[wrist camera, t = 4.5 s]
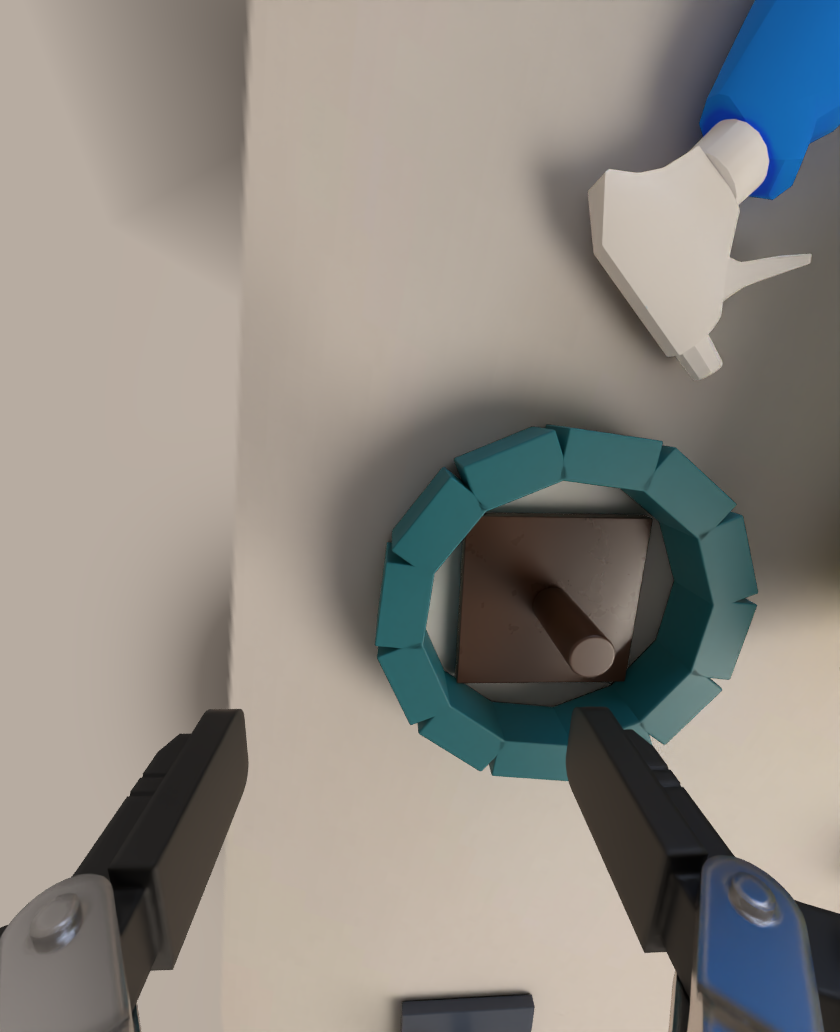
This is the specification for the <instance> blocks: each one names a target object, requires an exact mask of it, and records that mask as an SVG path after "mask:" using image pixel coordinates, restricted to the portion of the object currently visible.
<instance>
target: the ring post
mask: <svg viewBox="0 0 840 1032" xmlns="http://www.w3.org/2000/svg"><path fill="white" fill-rule="evenodd" d="M652 520H653V519H652V518H651V517H648V516H646V515H626V514H556V513H487V512H485V513H484V515H483V516H482V517H481V518H480V520H479V521H478V522H477V523H476V524H475V526H474V527H473V528H472V529H471V530H470V532H469V533H468V534H467V535H466V536H465V538H464V539H463V544H462V562H461V579H460V597H459V615H458V632H457V650H456V668H455V677H456V682H457V683H529V682H624V681H625V677H626V671H627V665H628V659H629V653H630V647H631V642H632V636H633V630H634V624H635V618H636V613H637V607H638V601H639V595H640V589H641V584H642V578H643V572H644V566H645V560H646V555H647V549H648V543H649V537H650V531H651V526H652Z"/></svg>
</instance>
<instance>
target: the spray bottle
mask: <svg viewBox="0 0 840 1032" xmlns="http://www.w3.org/2000/svg"><path fill="white" fill-rule="evenodd" d="M699 125H700V129H701V132H702V135H703V138H702V139H701V140H700V141H699V142H698V143H697V144H696V145H695V146H694V147H693V148H692V149H691V150H690V151H689V152H688V153H686V154H685V155H683V156H682V157H680V158H678V159H677V160H675V161H673V162H672V163H670V164H669V165H667V166H665V167H664V168H660V169H655V170H650V171H646V172H641V173H634V172H627V171H620V170H612V169H608V170H607V171H606V172H605V173H604V174H603V175H602V176H601V178H600V179H599V180H598V181H597V182H596V183H595V184H594V185H593V186H592V187H591V189H590V190H589V191H588V200H589V211H590V221H591V231H592V242H593V252H594V255H595V256H596V258H597V259H598V261H599V262H600V263H601V265H602V266H603V268H604V269H605V270H606V272H607V273H608V275H609V276H610V277H611V279H612V280H613V282H614V283H615V284H616V286H617V287H618V289H619V290H620V291H621V293H622V294H623V296H624V297H625V299H626V300H627V301H628V303H629V304H630V306H631V307H632V308H633V310H634V311H635V313H636V314H637V315H638V317H639V318H640V320H641V321H642V322H643V324H644V325H645V327H646V328H647V329H648V331H649V332H650V334H651V335H652V336H653V338H654V339H655V341H656V342H657V343H658V345H659V346H660V348H661V349H662V350H663V352H664V353H665V355H666V356H667V357H672V356H676V358H677V359H678V360H679V362H680V363H681V365H682V366H683V367H684V369H685V370H686V371H687V373H688V374H689V376H690V377H691V378H692V380H701V379H703V378H705V377H708V376H710V375H712V374H713V373H714V372H716V371H717V370H718V369H719V368H721V367H722V363H723V361H722V360H721V358H720V356H719V354H718V352H717V350H716V348H715V346H714V344H713V342H712V340H711V339H710V337H709V335H708V333H709V332H710V331H711V330H712V329H714V327H715V326H716V324H717V322H718V321H719V319H720V317H721V316H722V306H723V301H725V300H726V299H727V298H729V297H730V296H732V295H733V294H735V293H736V292H738V291H739V290H740V289H742V288H743V287H746V286H748V285H751V284H753V283H755V282H758V281H761V280H764V279H767V278H770V277H773V276H775V275H778V274H781V273H784V272H787V271H790V270H793V269H795V268H798V267H801V266H804V265H807V264H810V263H811V256H812V254H796V255H780V256H774V257H768V258H763V259H757V260H751V261H745V262H739V261H737V260H735V259H733V258H731V257H729V256H730V252H731V247H732V243H733V239H734V234H735V230H736V225H737V221H738V217H739V212H740V208H739V206H738V205H739V204H740V203H742V202H743V201H744V200H745V199H746V198H747V197H748V196H750V197H757V198H763V199H770V200H773V199H775V198H776V197H777V196H779V195H780V194H781V193H783V192H784V191H785V190H787V189H788V188H790V187H791V186H792V185H793V183H794V180H795V178H796V175H797V173H798V170H799V168H800V166H801V163H802V161H803V158H804V156H805V153H806V151H807V148H808V146H809V144H810V143H812V142H814V141H816V140H818V139H819V138H821V137H823V136H825V135H827V134H829V133H831V132H833V131H834V130H835V129H836V128H837V127H838V126H839V125H840V0H755V1H754V3H753V5H752V7H751V9H750V11H749V13H748V15H747V17H746V19H745V21H744V23H743V25H742V27H741V29H740V31H739V33H738V35H737V37H736V39H735V41H734V43H733V46H732V48H731V50H730V52H729V54H728V56H727V58H726V60H725V62H724V64H723V66H722V68H721V71H720V73H719V75H718V77H717V79H716V81H715V83H714V85H713V87H712V89H711V91H710V93H709V96H708V98H707V100H706V103H705V106H704V110H703V113H702V116H701V119H700V122H699Z"/></svg>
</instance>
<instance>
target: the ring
mask: <svg viewBox="0 0 840 1032" xmlns="http://www.w3.org/2000/svg"><path fill="white" fill-rule="evenodd" d="M662 444H663V441H659V440H652V439H646V438H639V437H632V436H625V435H619V434H612V433H605V432H598V431H591V430H585V429H578V428H571V427H564V426H556V425H549V424H547V425H546V427H545V428H539V427H530V428H527V429H525V430H522V431H520V432H517V433H515V434H513V435H510V436H508V437H505V438H503V439H500V440H498V441H495V442H493V443H490V444H488V445H486V446H483V447H481V448H478V449H476V450H473V451H471V452H468V453H466V454H464V455H461V456H459V457H456V458H455V459H454V462H455V465H456V467H457V470H458V472H459V475H460V478H461V480H460V479H459V478H458V477H457V476H455V475H454V474H453V473H451V472H450V471H449V470H448V469H446V468H445V467H442V468H441V470H440V471H439V472H438V473H437V475H436V476H435V477H434V478H433V480H432V481H431V482H430V483H429V485H428V486H427V487H426V489H425V490H424V491H423V492H422V494H421V495H420V496H419V497H418V499H417V500H416V501H415V502H414V504H413V505H412V506H411V507H410V509H409V510H408V511H407V512H406V514H405V515H404V516H403V518H402V519H401V520H400V521H399V523H398V524H397V525H396V526H395V528H394V529H393V530H392V542H387V545H386V553H385V560H384V568H383V576H382V584H381V591H380V599H379V607H378V614H377V626H376V638H375V646H378V653H377V659H378V661H379V663H380V665H381V667H382V669H383V671H384V673H385V675H386V677H387V679H388V681H389V683H390V685H391V687H392V689H393V691H394V693H395V695H396V697H397V699H398V701H399V703H400V705H401V707H402V709H403V711H404V713H405V716H406V718H407V720H408V722H409V724H410V725H413V724H415V723H418V732H419V734H420V735H422V736H424V737H425V738H427V739H428V740H430V741H432V742H433V743H435V744H437V745H438V746H440V747H441V748H443V749H445V750H446V751H448V752H450V753H451V754H453V755H454V756H456V757H458V758H459V759H461V760H463V761H464V762H466V763H467V764H469V765H471V766H472V767H474V768H475V769H477V770H479V771H482V770H483V769H484V768H485V767H486V766H487V765H488V764H489V766H490V770H491V774H492V776H503V777H517V778H532V779H546V780H560V781H568V777H567V771H566V752H567V745H568V738H569V731H570V724H571V716H572V712H573V709H574V708H575V707H607V708H609V709H610V711H611V712H612V713H613V715H614V716H615V718H616V719H617V721H618V722H619V723H620V725H621V726H622V728H623V729H632V730H634V731H635V732H636V733H637V734H639V735H640V736H641V737H642V738H644V739H645V740H646V741H647V742H649V743H650V744H651V745H652V743H651V740H650V736H649V735H651V736H652V737H654V738H655V739H656V740H658V741H659V742H661V743H662V744H664V745H665V744H667V743H668V742H669V741H670V740H671V739H672V738H673V737H674V736H675V735H676V734H677V733H678V732H679V731H680V730H681V729H682V728H683V727H684V726H685V725H686V724H688V723H689V722H690V721H691V720H692V719H693V718H694V717H695V716H696V715H697V714H698V713H699V712H700V711H701V710H702V709H703V708H704V707H705V706H706V705H707V704H708V703H710V702H711V701H712V700H713V699H714V698H715V697H716V696H717V695H718V694H719V693H720V692H721V691H722V688H721V687H720V686H719V685H717V684H716V683H715V682H714V681H713V680H712V679H711V678H717V679H727V680H729V679H730V678H731V675H732V673H733V670H734V667H735V664H736V662H737V659H738V656H739V654H740V651H741V648H742V645H743V643H744V640H745V637H746V634H747V632H748V629H749V626H750V624H751V621H752V618H753V615H754V613H755V610H756V607H757V605H756V604H755V603H753V602H751V601H749V600H747V599H746V598H747V597H749V596H752V595H754V594H757V593H758V589H757V584H756V579H755V574H754V569H753V564H752V559H751V554H750V549H749V544H748V539H747V534H746V529H745V524H744V519H743V516H742V515H740V514H737V513H734V512H731V510H732V509H733V508H734V507H735V506H736V505H737V504H736V503H735V502H734V501H733V500H732V499H731V498H730V497H729V496H727V495H726V494H725V493H724V492H723V491H722V490H721V489H720V488H719V487H718V486H717V485H716V484H715V483H713V482H712V481H711V480H710V479H709V478H708V477H707V476H706V475H705V474H704V473H703V472H702V471H701V470H699V469H698V468H697V467H696V466H695V465H694V464H693V463H692V462H691V461H690V460H689V459H688V458H687V457H685V456H684V455H683V454H682V453H681V452H680V451H679V450H678V449H677V448H675V447H670V446H663V445H662ZM561 481H570V482H578V483H585V484H592V485H600V486H607V487H614V488H621V489H622V490H623V491H624V492H625V493H626V494H628V495H629V496H630V497H631V498H632V499H633V500H634V501H636V502H637V503H638V504H639V505H640V506H641V507H643V508H644V509H645V510H646V511H647V512H648V513H649V514H651V515H652V516H653V517H654V518H655V519H656V520H658V521H659V523H660V527H661V531H662V535H663V539H664V542H665V546H666V550H667V554H668V558H669V562H670V566H671V570H672V574H673V577H674V583H673V586H672V589H671V593H670V596H669V599H668V602H667V606H666V609H665V612H664V615H663V618H662V622H661V625H660V628H659V631H658V635H657V638H656V640H655V641H654V642H653V644H652V645H651V646H650V647H649V648H648V649H647V650H646V651H645V652H644V653H643V654H642V655H641V656H640V657H639V658H638V659H637V660H636V661H635V662H634V663H633V664H632V665H631V666H630V667H629V668H628V669H627V671H626V677H625V681H624V682H614V683H613V684H612V685H611V686H608V687H605V688H603V689H600V690H598V691H595V692H592V693H590V694H587V695H584V696H582V697H579V698H576V699H574V700H571V701H568V702H566V703H563V704H560V705H558V706H555V707H548V706H536V705H524V704H513V703H501V702H491V701H490V700H488V699H487V698H485V697H484V696H482V695H481V694H479V693H478V692H476V691H475V690H473V689H472V688H470V687H469V686H467V685H466V684H464V683H457V682H456V678H455V677H454V676H452V675H451V674H449V673H448V672H446V671H445V670H444V669H443V667H442V664H441V662H440V660H439V658H438V655H437V653H436V651H435V649H434V647H433V644H432V642H431V640H430V638H429V635H428V633H427V631H426V624H427V617H428V611H429V605H430V599H431V593H432V586H433V580H434V574H435V572H436V571H437V570H438V569H439V568H440V566H441V565H442V564H443V563H444V562H445V560H446V559H447V558H448V557H449V556H450V554H451V553H452V552H453V551H454V550H455V548H456V547H457V546H458V545H459V544H460V542H461V541H462V540H463V539H464V538H465V536H466V535H467V534H468V533H469V532H470V530H471V529H472V528H473V527H474V526H475V524H476V523H477V522H478V521H479V520H480V518H481V517H482V516H483V515H484V513H485V512H486V511H489V510H491V509H494V508H496V507H499V506H501V505H504V504H506V503H509V502H511V501H514V500H516V499H519V498H521V497H524V496H526V495H529V494H531V493H534V492H536V491H539V490H541V489H544V488H546V487H549V486H551V485H554V484H556V483H559V482H561Z"/></svg>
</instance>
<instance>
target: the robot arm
mask: <svg viewBox="0 0 840 1032" xmlns="http://www.w3.org/2000/svg"><path fill="white" fill-rule="evenodd" d="M566 771H567V777H568V781H569V784H570V787H571V789H572V791H573V794H574V796H575V798H576V800H577V803H578V805H579V807H580V809H581V812H582V814H583V816H584V818H585V821H586V823H587V825H588V827H589V830H590V832H591V834H592V836H593V838H594V841H595V843H596V845H597V847H598V850H599V852H600V854H601V856H602V859H603V861H604V863H605V865H606V868H607V870H608V872H609V874H610V877H611V879H612V881H613V883H614V886H615V888H616V890H617V892H618V894H619V897H620V899H621V901H622V903H623V906H624V908H625V910H626V912H627V915H628V917H629V919H630V921H631V924H632V926H633V928H634V930H635V933H636V935H637V937H638V939H639V942H640V944H641V946H642V948H643V950H644V953H651V952H667V954H668V956H669V958H670V960H671V962H672V964H673V966H674V968H675V974H674V978H673V985H672V997H671V1009H670V1020H669V1032H840V914H838V913H835V912H832V911H828V910H825V909H821V908H818V907H815V906H811V905H808V904H804V903H801V902H798V901H796V900H794V899H793V898H792V897H791V895H790V894H789V893H788V892H787V891H786V890H785V889H784V888H783V887H782V886H781V885H780V884H779V883H778V882H777V881H776V880H775V879H774V878H772V877H771V876H770V875H768V874H767V873H766V872H764V871H763V870H761V869H760V868H758V867H757V866H755V865H753V864H751V863H749V862H747V861H745V860H742V859H740V858H736V857H735V856H734V855H733V854H732V852H731V851H730V850H729V848H728V847H727V846H726V844H725V843H724V842H723V840H722V839H721V837H720V836H719V835H718V833H717V832H716V831H715V829H714V828H713V827H712V825H711V824H710V823H709V821H708V820H707V819H706V817H705V816H704V814H703V813H702V812H701V810H700V809H699V808H698V806H697V805H696V804H695V802H694V801H693V800H692V798H691V797H690V795H689V794H688V793H687V791H686V790H685V789H684V787H681V786H680V782H679V781H678V779H677V778H676V777H675V775H674V774H673V772H672V771H671V770H668V766H667V764H666V763H665V762H664V760H663V759H662V758H661V756H660V755H659V754H658V752H657V751H656V749H655V748H654V747H653V746H652V745H651V744H650V743H649V742H647V741H646V740H645V739H644V738H642V737H641V736H640V735H639V734H637V733H636V732H635V731H634V730H632V729H623V728H622V726H621V725H620V723H619V722H618V721H617V719H616V718H615V716H614V715H613V713H612V712H611V711H610V709H609V708H607V707H575V708H574V709H573V712H572V716H571V724H570V731H569V738H568V745H567V752H566ZM247 775H248V752H247V741H246V730H245V719H244V713H243V711H242V709H209V710H207V711H206V712H205V713H204V715H203V716H202V718H201V720H200V721H199V722H198V724H197V726H196V727H195V729H194V731H193V732H192V734H179V735H178V736H176V737H175V738H174V739H173V740H172V741H170V742H169V743H168V744H167V745H166V746H165V747H163V748H162V749H161V750H160V751H159V752H158V753H157V754H156V755H155V757H154V758H153V760H152V761H151V763H150V764H149V766H148V767H147V769H146V770H145V772H144V773H143V777H142V778H140V779H139V780H138V782H137V783H136V785H135V786H134V787H133V789H132V790H131V793H130V796H129V797H127V798H126V799H125V801H124V802H123V803H122V805H121V807H120V808H119V809H118V811H117V812H116V814H115V815H114V817H113V818H112V820H111V821H110V822H109V824H108V825H107V827H106V828H105V830H104V831H103V833H102V834H101V836H100V837H99V838H98V840H97V841H96V843H95V844H94V846H93V847H92V849H91V850H90V852H89V853H88V855H87V856H86V857H85V859H84V860H83V862H82V863H81V865H80V866H79V868H78V869H77V871H76V872H75V873H74V874H73V876H72V877H71V878H68V879H65V880H63V881H61V882H59V883H57V884H55V885H53V886H52V887H50V888H48V889H46V890H45V891H44V892H42V893H41V894H39V895H38V896H37V897H35V898H34V899H33V900H32V901H31V902H30V903H28V904H27V905H26V906H25V907H24V908H23V909H22V910H21V911H20V912H19V913H18V914H17V915H16V917H15V918H14V919H13V920H12V921H11V922H10V924H9V925H6V926H4V927H1V928H0V1032H141V1026H140V1019H139V1012H138V1006H137V1000H138V998H139V995H140V993H141V991H142V988H143V986H144V984H145V982H146V979H147V977H148V975H149V972H150V971H151V970H173V968H174V965H175V963H176V960H177V958H178V955H179V952H180V950H181V948H182V945H183V943H184V940H185V938H186V935H187V933H188V930H189V928H190V925H191V922H192V920H193V918H194V915H195V913H196V910H197V908H198V905H199V902H200V900H201V897H202V895H203V892H204V890H205V887H206V885H207V882H208V880H209V877H210V875H211V872H212V869H213V867H214V865H215V862H216V859H217V857H218V855H219V852H220V850H221V847H222V845H223V842H224V840H225V837H226V835H227V832H228V830H229V827H230V825H231V822H232V819H233V817H234V814H235V812H236V809H237V807H238V804H239V802H240V799H241V797H242V794H243V792H244V788H245V785H246V780H247Z"/></svg>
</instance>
